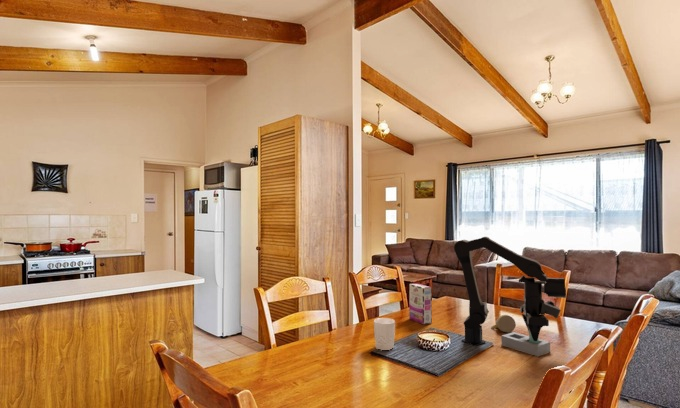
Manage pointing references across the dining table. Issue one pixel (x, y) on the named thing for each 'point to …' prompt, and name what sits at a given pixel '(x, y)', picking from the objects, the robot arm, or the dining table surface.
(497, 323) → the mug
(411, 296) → the candy bar box
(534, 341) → the peg
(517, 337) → the block
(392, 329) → the white cup
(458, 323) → the dining table surface
